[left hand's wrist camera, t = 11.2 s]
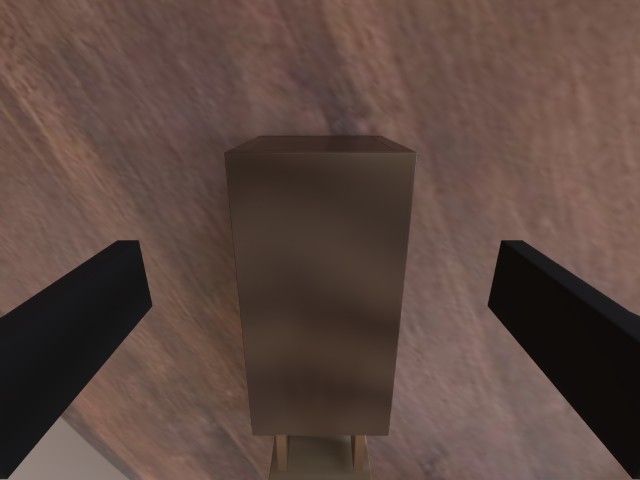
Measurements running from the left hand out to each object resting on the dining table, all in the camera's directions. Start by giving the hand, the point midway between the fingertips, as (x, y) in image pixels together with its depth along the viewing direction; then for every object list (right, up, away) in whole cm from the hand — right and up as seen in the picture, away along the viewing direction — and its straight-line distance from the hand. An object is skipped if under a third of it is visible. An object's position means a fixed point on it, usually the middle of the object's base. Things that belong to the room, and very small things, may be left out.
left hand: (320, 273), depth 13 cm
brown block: (0, 0, +19) cm, 19 cm away
